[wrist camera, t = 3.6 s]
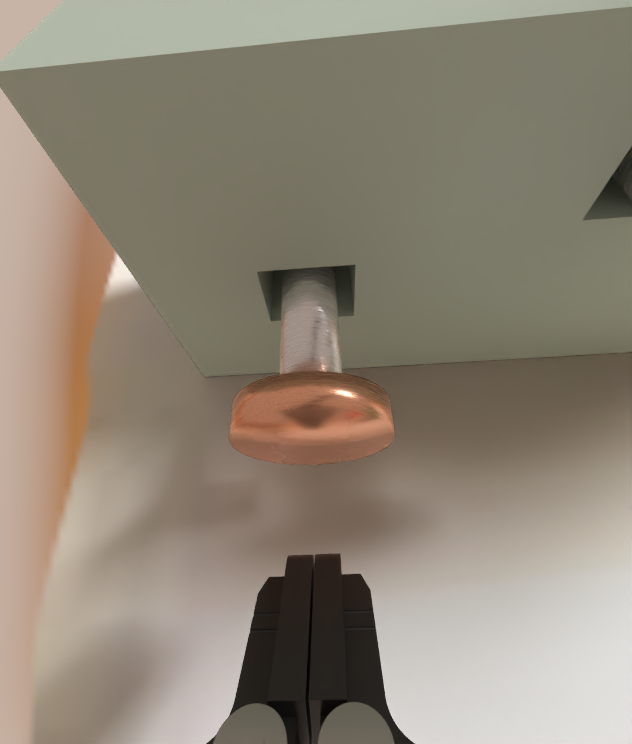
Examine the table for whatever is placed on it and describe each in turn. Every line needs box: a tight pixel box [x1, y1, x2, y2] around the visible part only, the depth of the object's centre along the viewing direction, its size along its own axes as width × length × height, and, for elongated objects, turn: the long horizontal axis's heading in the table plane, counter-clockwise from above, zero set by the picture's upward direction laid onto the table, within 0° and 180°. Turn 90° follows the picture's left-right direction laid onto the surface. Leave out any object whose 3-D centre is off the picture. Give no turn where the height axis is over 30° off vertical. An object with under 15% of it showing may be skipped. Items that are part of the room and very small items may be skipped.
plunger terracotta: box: [229, 266, 395, 465], centre depth 15 cm, size 13×6×6 cm, turn 2°
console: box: [0, 0, 632, 377], centre depth 17 cm, size 10×26×15 cm, turn 92°
